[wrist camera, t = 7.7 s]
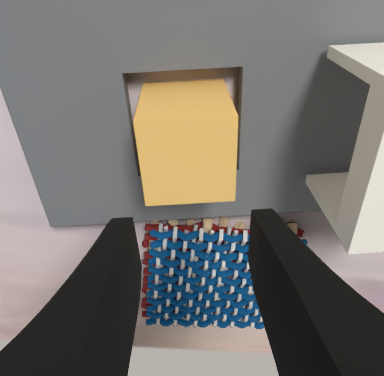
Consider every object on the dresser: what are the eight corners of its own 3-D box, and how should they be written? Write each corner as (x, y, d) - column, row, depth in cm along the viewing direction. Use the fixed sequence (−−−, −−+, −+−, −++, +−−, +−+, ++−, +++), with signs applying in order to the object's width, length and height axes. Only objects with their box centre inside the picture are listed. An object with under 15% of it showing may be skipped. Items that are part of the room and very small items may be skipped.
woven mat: (144, 206, 22) (141, 226, 20) (302, 215, 23) (313, 236, 21) (140, 308, 28) (138, 331, 26) (267, 312, 29) (273, 335, 27)
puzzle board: (55, 216, 21) (50, 227, 20) (-20, -2, 15) (-31, 1, 14) (340, 199, 22) (346, 208, 21) (394, -24, 15) (407, -23, 14)
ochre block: (151, 153, 19) (145, 206, 15) (143, 82, 17) (133, 121, 13) (222, 149, 19) (235, 201, 15) (223, 78, 17) (238, 115, 13)
